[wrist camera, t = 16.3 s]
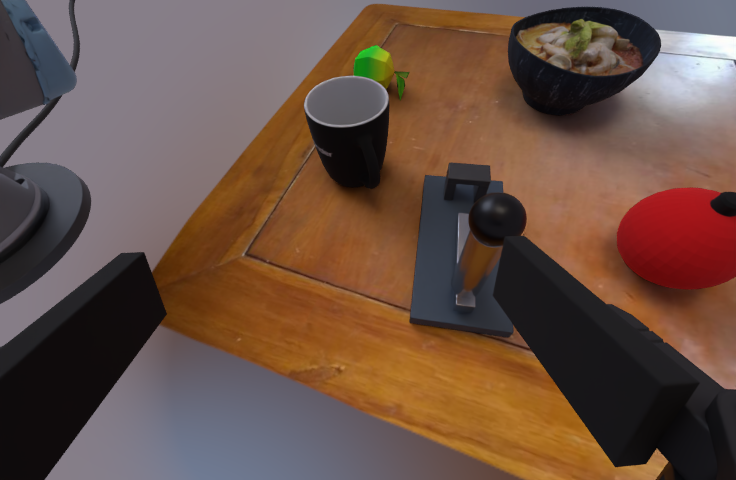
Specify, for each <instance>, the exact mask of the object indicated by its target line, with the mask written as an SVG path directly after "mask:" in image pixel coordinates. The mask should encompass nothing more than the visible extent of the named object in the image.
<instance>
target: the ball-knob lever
mask: <svg viewBox="0 0 736 480" xmlns="http://www.w3.org/2000/svg"><path fill="white" fill-rule="evenodd" d="M526 220H527V218H526V212H525V209H524V207H523V205H522V204H521V202H520V201H519V200H517V199H516V198H515V197H513V196H512V195H509V194H506V193H499V192H497V193H490V194H487V195H485V196H483V197H481V198H480V199H478V200H477V201H476V202H475V203H474V205H473V206H472V208H471V210H470V213H469V214H466V213H458V216H457V220H456V234H455V267H454V274H453V277H452V280H451V286H452V288H453V290H454V300H453V311H457V312H465V313H472V311H473V310H474V308H475V296H477V295H478V294H479V293H480V291H481V289H482V287H483V286H484V284H485V282H486V281H487V279H488V277H489V275H490V274H491V272H492V270H493V269H494V267H495V265H496V263H497V262H498V260H499V258H500V257H501V252H502V247H503V242H504V238H505V236H520V235H521V234H522V233H523V231H524V229H525V226H526Z"/></svg>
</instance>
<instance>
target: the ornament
mask: <svg viewBox="0 0 736 480" xmlns="http://www.w3.org/2000/svg"><path fill="white" fill-rule="evenodd" d="M617 246H618V250H619V253H620V255H621V256H622V258H623V260H624V262H625V263H626V264H627V266H628V267H629V268H630V269H631V270H632V271H633V272H635V273H636V274H638V275H639V276H640V277H642V278H644V279H646V280H648V281H650V282H653V283H655V284H658V285H661V286H665V287H668V288H676V289H701V288H708V287H712V286H716V285H719V284H722V283H725V282H727V281H729V280H731V279H733V278H734V277H736V193H735V192H723V193H720V192H716V191H712V190H707V189H702V188H675V189H670V190H666V191H662V192H658V193H655V194H653V195H651V196H649V197H647V198H645V199H643V200H641V201H640V202H638V203H637V204H636V205H634V206H633V207H632V208H631V209H630V210H629V211H628V212H627V213H626V215H625V216H624V217H623V219H622V220H621V222H620V225H619V228H618V231H617Z"/></svg>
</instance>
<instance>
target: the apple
mask: <svg viewBox="0 0 736 480" xmlns="http://www.w3.org/2000/svg"><path fill="white" fill-rule="evenodd" d="M353 69H354V76H360V77H365V78H369V79H372V80H374V81H376V82H378V83H379V84H381V85H382V86H383V87H384V88H385V89H387V87H388V85H389V84H390V82H391V79H392V77H393V75H394V73H395V74H396V77H397V87H398V92H399V97H400V100H401V97H402V94H403V90H404V87H405V82H404V79H403V78H401V77H400V76H402V77H404V78H407V77H408V74H409V72H397V71H394V67H393V62H392V59H391V55H390V53H388V52H386V51H385V50H383V49H381V48H380V47H378V46H376V45H375V46H372V47H370V48H368V49H365V50H363V51H360V53H359V54H358V56H357V57H356V59H355V63H354V68H353ZM399 75H400V76H399Z"/></svg>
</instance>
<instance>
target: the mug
mask: <svg viewBox="0 0 736 480" xmlns="http://www.w3.org/2000/svg"><path fill="white" fill-rule="evenodd" d="M304 109H305V114H306V118H307V122H308V125H309V129H310V132H311V135H312V138H313V141H314V143H315V146H316V149H317V151H318V154H319V156H320V159H321V161H322V163H323V165H324V167H325V169H326V171H327V172H328V174H329V175H330V177H331V178H332V179H333V180H334V181H336V182H337V183H339V184H340V185H343V186H346V187H360V186H364V185H365V186H366V187H367V188H369V189H373V188H375V187H377V186H378V185H379V183H380V170H381V168H382V165H383V161H384V157H385V152H386V145H387V137H388V125H389V96H388V93H387V91H386V89H385V88H384V87H383V86H382V85H381V84H379V83H378V82H376V81H374V80H372V79H369V78H365V77H360V76H343V77H337V78H333V79H330V80H327V81H325V82H322V83H321V84H319V85H317V86H316V87H314V88H313V89H312V90H311V91H310V92H309V94H308V95H307V97H306V99H305V102H304Z"/></svg>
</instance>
